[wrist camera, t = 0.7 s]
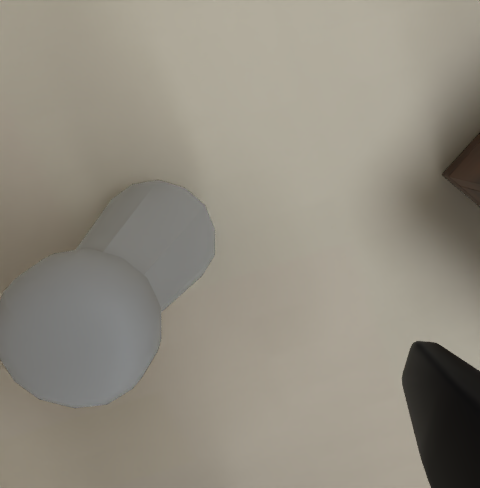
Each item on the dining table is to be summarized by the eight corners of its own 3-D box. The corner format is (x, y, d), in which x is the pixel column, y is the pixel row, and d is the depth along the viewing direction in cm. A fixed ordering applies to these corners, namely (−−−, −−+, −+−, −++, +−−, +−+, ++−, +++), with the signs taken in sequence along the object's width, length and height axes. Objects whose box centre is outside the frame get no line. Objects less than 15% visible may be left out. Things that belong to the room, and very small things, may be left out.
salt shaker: (209, 167, 21) (153, 223, 9) (227, 267, 23) (200, 435, 10) (104, 184, 22) (-93, 260, 9) (128, 281, 23) (-12, 459, 11)
